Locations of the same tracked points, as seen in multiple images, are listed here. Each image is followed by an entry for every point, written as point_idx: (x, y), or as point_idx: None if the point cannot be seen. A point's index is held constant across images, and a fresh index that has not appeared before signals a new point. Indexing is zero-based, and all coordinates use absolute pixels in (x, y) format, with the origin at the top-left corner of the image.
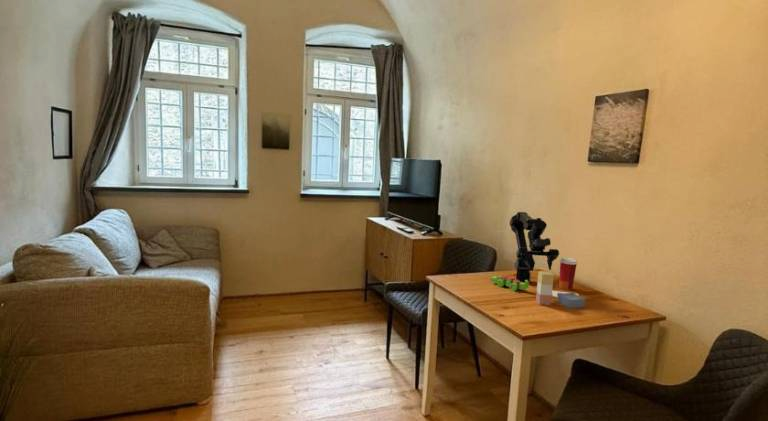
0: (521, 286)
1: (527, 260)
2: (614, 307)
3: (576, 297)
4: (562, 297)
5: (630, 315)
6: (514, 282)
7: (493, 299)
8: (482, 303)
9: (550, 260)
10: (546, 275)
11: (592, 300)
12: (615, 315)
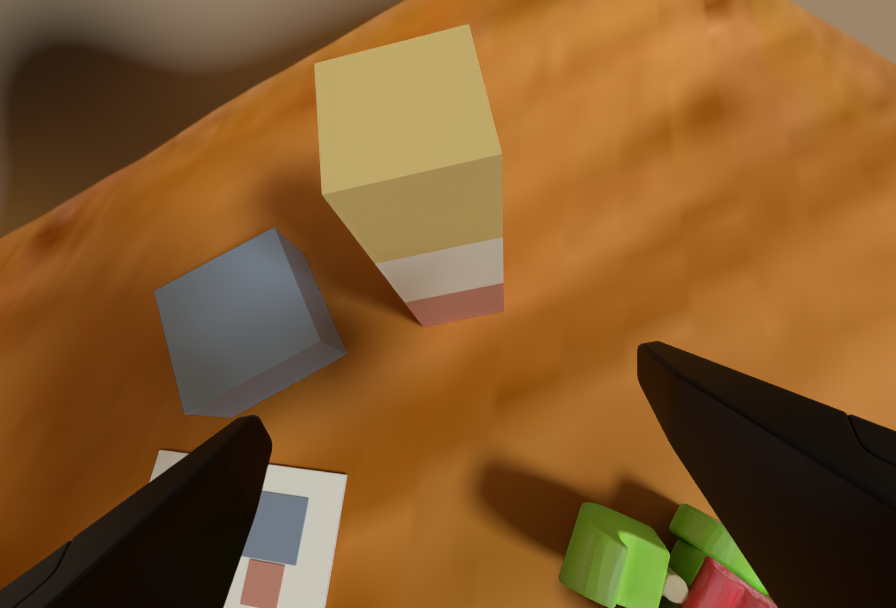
0: (639, 529)
1: (870, 428)
2: (12, 373)
3: (204, 302)
4: (306, 297)
5: (10, 265)
6: (746, 581)
7: (830, 222)
8: (886, 116)
9: (47, 590)
10: (414, 49)
11: (74, 481)
12: (92, 235)
